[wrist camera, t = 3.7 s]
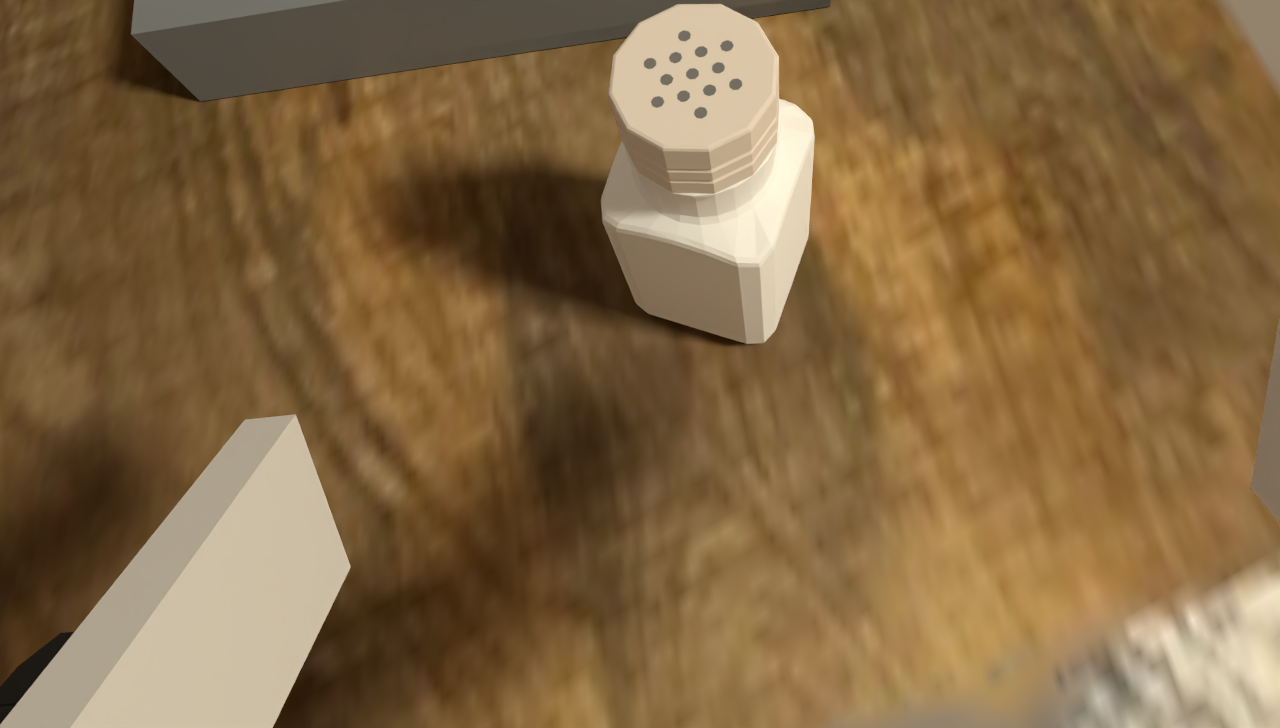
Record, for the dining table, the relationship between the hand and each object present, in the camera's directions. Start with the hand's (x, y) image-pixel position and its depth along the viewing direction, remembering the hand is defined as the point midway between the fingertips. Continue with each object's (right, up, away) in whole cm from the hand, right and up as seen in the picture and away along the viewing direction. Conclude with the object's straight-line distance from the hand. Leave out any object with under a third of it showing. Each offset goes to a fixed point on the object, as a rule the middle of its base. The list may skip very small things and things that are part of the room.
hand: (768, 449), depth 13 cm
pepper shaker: (+1, +4, +14) cm, 14 cm away
